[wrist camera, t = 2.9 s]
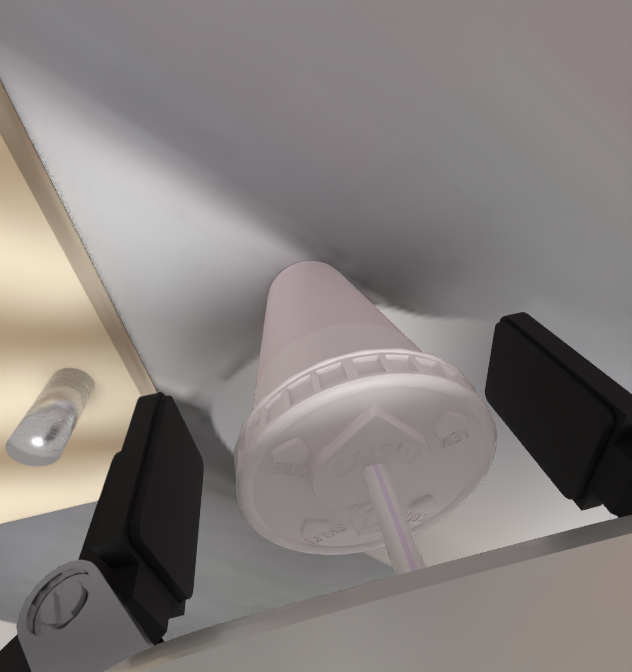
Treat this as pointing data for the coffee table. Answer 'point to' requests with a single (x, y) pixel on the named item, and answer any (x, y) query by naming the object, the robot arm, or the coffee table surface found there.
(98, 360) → the pin board
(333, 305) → the smoothie
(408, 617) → the robot arm
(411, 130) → the coffee table surface
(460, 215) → the coffee table surface
